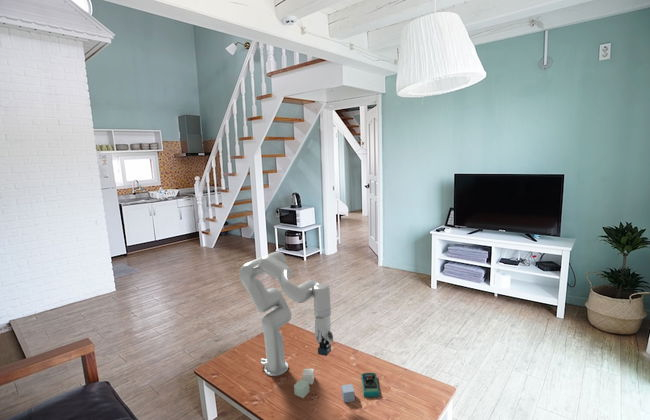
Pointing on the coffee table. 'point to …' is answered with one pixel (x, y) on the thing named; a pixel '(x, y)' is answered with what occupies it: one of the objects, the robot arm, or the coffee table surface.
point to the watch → (328, 349)
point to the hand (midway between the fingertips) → (324, 347)
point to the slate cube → (348, 393)
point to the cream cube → (308, 375)
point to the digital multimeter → (370, 385)
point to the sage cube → (301, 388)
